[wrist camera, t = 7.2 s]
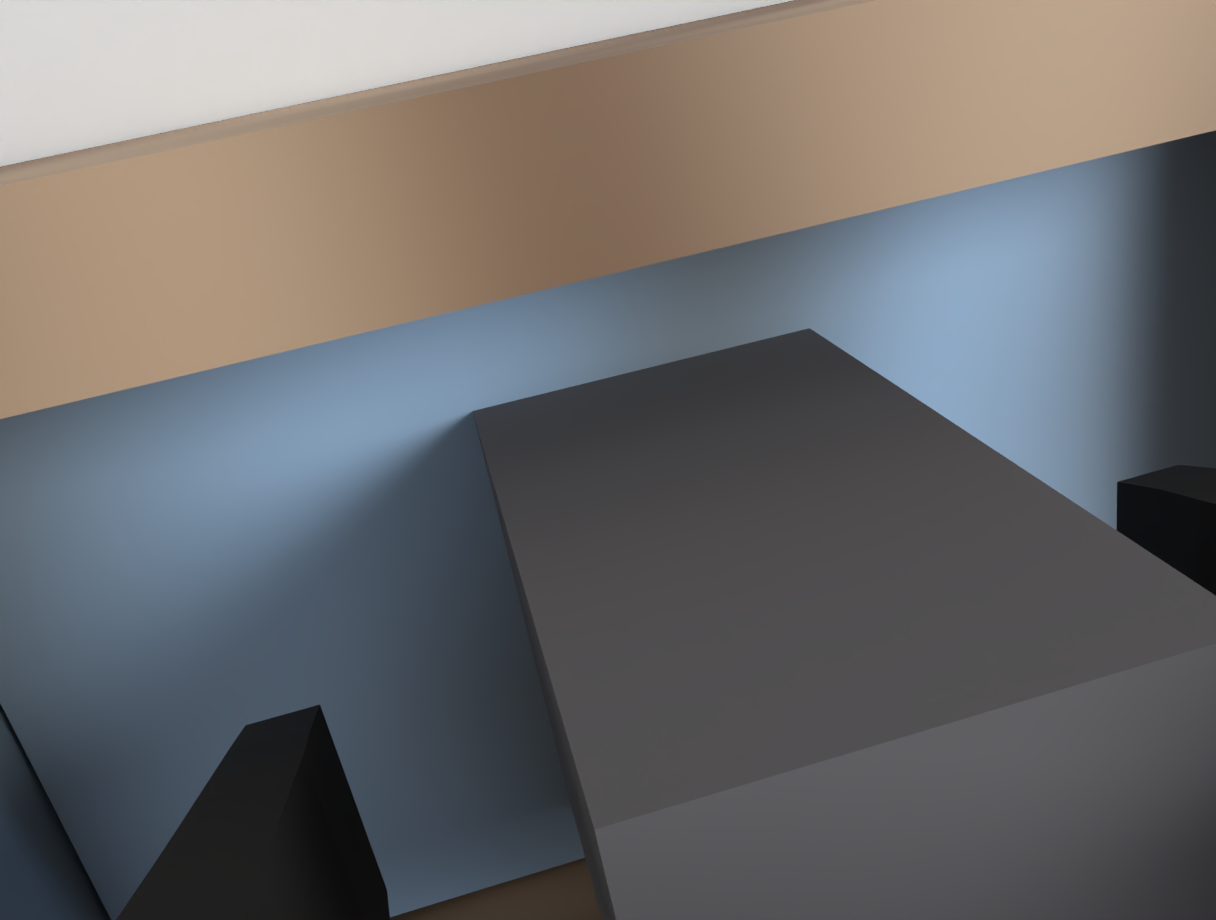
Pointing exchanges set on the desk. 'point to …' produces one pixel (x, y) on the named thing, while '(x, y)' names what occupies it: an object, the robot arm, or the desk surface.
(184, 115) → the desk surface
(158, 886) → the robot arm
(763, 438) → the tall grey box
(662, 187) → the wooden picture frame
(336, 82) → the desk surface
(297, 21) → the desk surface
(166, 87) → the desk surface
